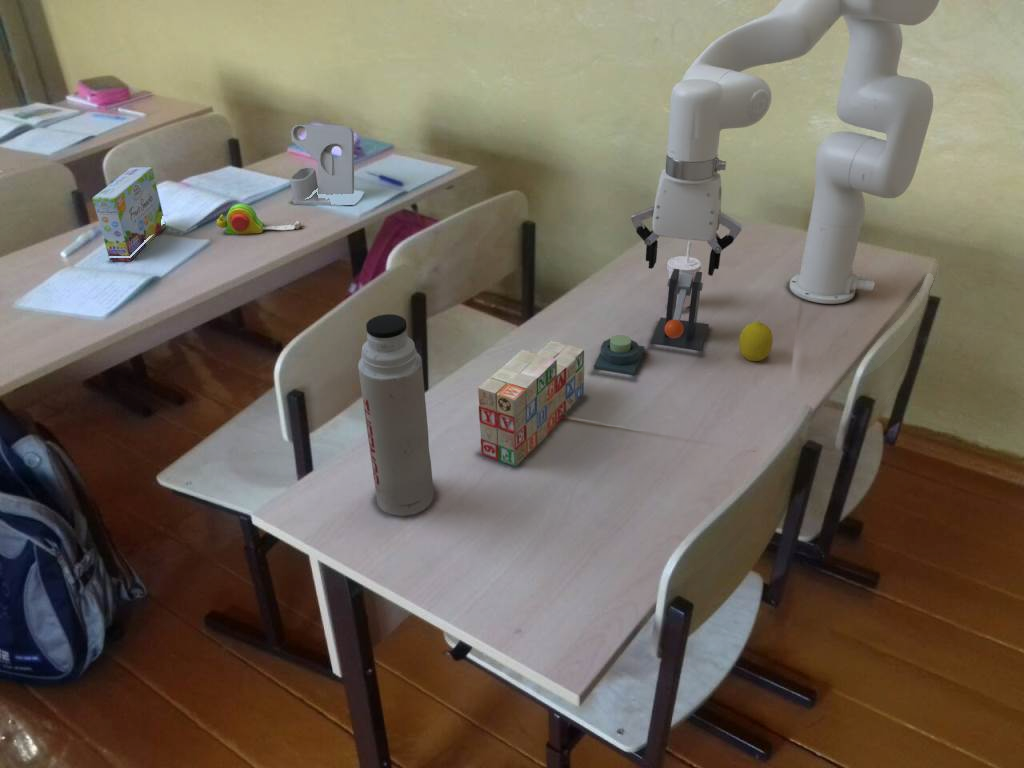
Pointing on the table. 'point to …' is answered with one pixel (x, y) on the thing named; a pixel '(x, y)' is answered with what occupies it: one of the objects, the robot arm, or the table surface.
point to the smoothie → (684, 269)
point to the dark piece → (619, 359)
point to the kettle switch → (679, 306)
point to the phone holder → (324, 163)
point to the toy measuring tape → (247, 221)
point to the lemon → (755, 341)
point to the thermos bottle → (396, 417)
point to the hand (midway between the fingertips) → (681, 268)
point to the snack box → (129, 212)
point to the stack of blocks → (528, 400)
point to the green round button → (620, 344)
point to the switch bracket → (692, 329)
